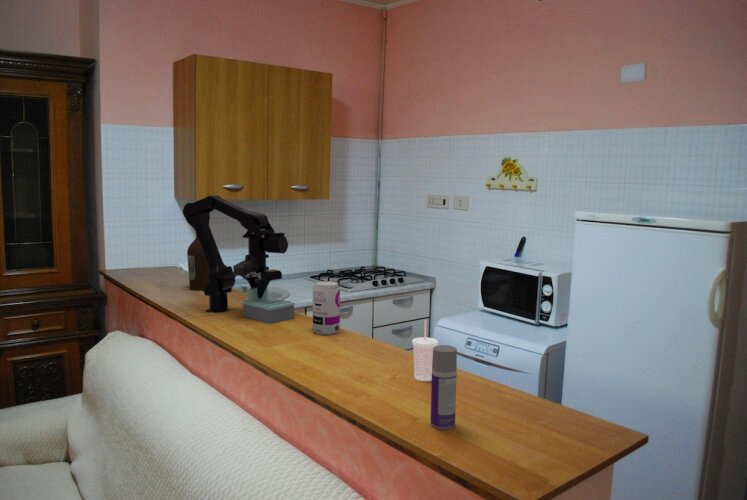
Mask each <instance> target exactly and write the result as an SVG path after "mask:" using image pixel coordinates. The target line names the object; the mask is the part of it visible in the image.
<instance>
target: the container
mask: <svg viewBox="0 0 747 500" xmlns="http://www.w3.org/2000/svg"><path fill="white" fill-rule="evenodd" d="M457 352H458V351H457V347H455V346H452V345H447V344H445V345H444V344H442V345H439V344H438V345H437V346H435V347H433V360H432V380H431V387H430V389H431V391H430V392H431V393H430V394H431V395H430V425H431V427H433V428H434V429H438V430H443V431H445V430H447V431H448V430H451V429H454V428H455V426H456V405H457V404H456V403H457V367H458V366H457V362H458V360H457V359H458V353H457Z"/></svg>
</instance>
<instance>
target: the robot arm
mask: <svg viewBox="0 0 747 500" xmlns="http://www.w3.org/2000/svg"><path fill="white" fill-rule="evenodd" d="M214 210H216V211H217V212H220V213H222V214H224V215H225V216H228V217H230V218H231V219H234V221H237V222H239V224H240V225H241V227H243V228H245V229H246V232H245V233H244V234H243V235H242V237H241V238H242V239H247V241H248V243H247V245H248V247H247V249H248V254H245V256H244V260H242V261H239V262H238V263H236V264H235V265H233V266H231V265H228V266H227V265H226V264H225V263H224V262H223V259H222V256H221V254H220V253H221V252H220V251H219V249H218V246H217V245H218V244H217V243H216V240H215V237H214V235H213V232H212V230H211V227H210V219H211V214H210V213H211V212H214ZM182 213H183V214H182V215H183V216H184V218H185V220H186V223H188V225H190V226H191V228H192V229H194V231H195V235H196V234H197V236H198V239H199V242H200V244H201V247H202V250H203V252H204V255H205V258H206V260H207V263H208V266H209V275H208V278H209V282H210V283H209V284H208V285H207V286H206V287H205V288H204V290H203V293H204V296H205V297H207V296H208V300H209V301H208V302H209V304H208V306H209V307H208V308H207V309H205V312H207V313H214V314H218V313H222V312H223V313H224V312H229V311H231V310H232V309H230V308H229V306H228V305H229V304H228V303H229V302H228V301H229V300H228V293H229V294H230V293H232V290H233V287H234V285H235V283H236V277H237V276H238V277H239V276H240V277H242V279H244V280H246V281H247V282H248V284H249V287H250V288H256V287H257V290H258V298H259V299H261V298H262V296H263V294H264V292H265V290H266V288H267V289H268V286H269V284H270V283H271V281H275V280H276V281H277V280H282V278H283V273H282V271H281V270H279V269H270V268H269V266H267V259H269V258H270V257H269V256H270V255H269V254H267V253H270V254H286V253H287V251H288V247H289V242H288V238H287V236H285V232H276V231H275V229H274V228H273V227H272V225H271V224H270V222H269V218H268V216H267V215H266V214H265V213H261V212H257V211H252V210H249V209H246V208H243V207H241V206H239V205H236V204H234V203H233V202H230V201H228V200H226V199H224V198H223V197H221V196H219V195H208V196H206V197H204V198H202V199H199V200H196V201H193V202H187V203H186V204H184V206H183V209H182Z"/></svg>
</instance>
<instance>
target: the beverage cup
mask: <svg viewBox="0 0 747 500" xmlns="http://www.w3.org/2000/svg"><path fill="white" fill-rule="evenodd" d="M427 323H428V321H427V319H424V326H423V327H424V332H423V337H415V338H413V339H412V340H411V345H413V349H412V350H413V368H414V369H413V370H414V371H413V373H414V375H413V376H414V379H416V381H421V382H429V381H432V360H433V347H435V346H439V341H438V339H436V338H433V337H428V336H427Z"/></svg>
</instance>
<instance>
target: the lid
mask: <svg viewBox="0 0 747 500" xmlns="http://www.w3.org/2000/svg"><path fill="white" fill-rule="evenodd" d="M268 294H269V291H268V287H267V288H266V290H265V292H264V294H263V296H262V298H261V299H259V298H258V290H257V287H256V288H251V287H250V288H247V299H245V300H242V301H241V304H242V305H243V304H246V305H250V306H255V307H259V308H263V309H267V310H274V309H279V308H284V307H288V306H293V305H294V306H296V302H293V301H291V300H285V299H279V298H275V297H271V296H268Z"/></svg>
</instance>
